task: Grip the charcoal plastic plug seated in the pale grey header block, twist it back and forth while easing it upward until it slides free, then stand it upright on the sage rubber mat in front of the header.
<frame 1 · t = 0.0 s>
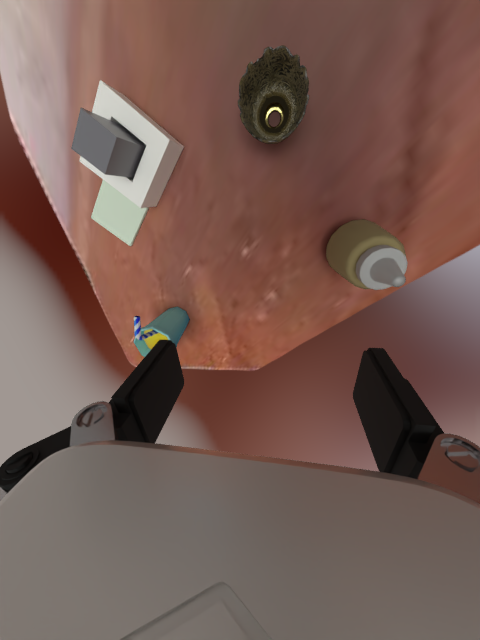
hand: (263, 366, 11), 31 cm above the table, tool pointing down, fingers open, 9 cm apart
cup: (178, 313, 48), on the table
squeeze bottle: (347, 244, 37), on the table
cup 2: (274, 119, 31), on the table
mat: (120, 212, 40), on the table
plug: (120, 150, 30), in the header
header: (141, 156, 35), on the table
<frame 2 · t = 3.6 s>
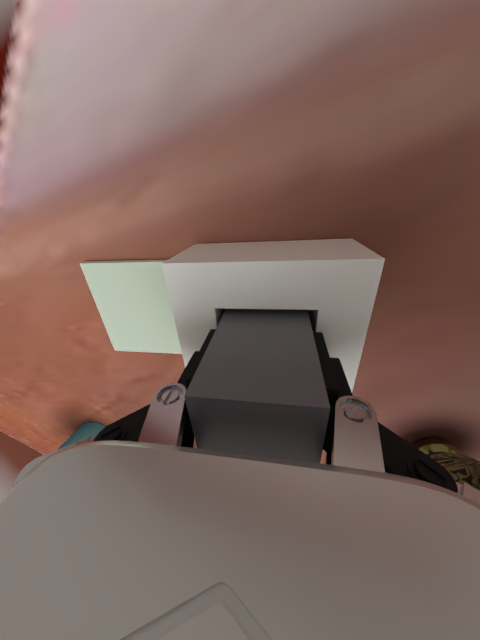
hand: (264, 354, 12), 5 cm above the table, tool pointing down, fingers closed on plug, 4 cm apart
cup: (105, 431, 29), on the table
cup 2: (428, 444, 21), on the table
mat: (146, 308, 19), on the table
plug: (264, 356, 12), in the header, touching gripper
header: (268, 310, 17), on the table
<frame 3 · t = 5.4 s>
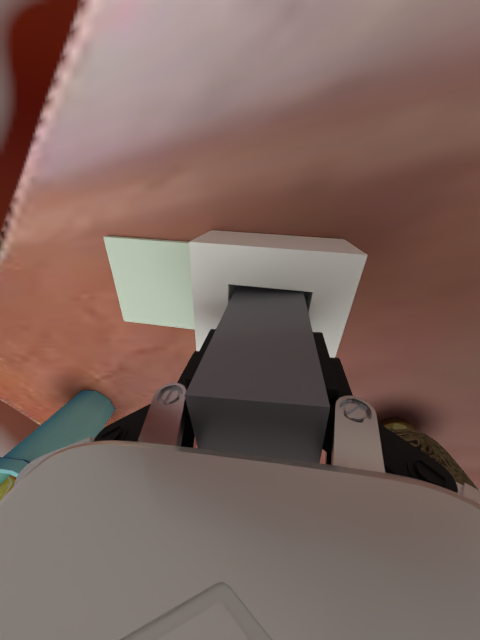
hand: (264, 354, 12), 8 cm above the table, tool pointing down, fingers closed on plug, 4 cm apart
cup: (101, 400, 31), on the table
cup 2: (391, 424, 25), on the table
mat: (159, 284, 21), on the table
plug: (264, 356, 12), point 8 cm above the table, touching gripper
header: (268, 295, 19), on the table
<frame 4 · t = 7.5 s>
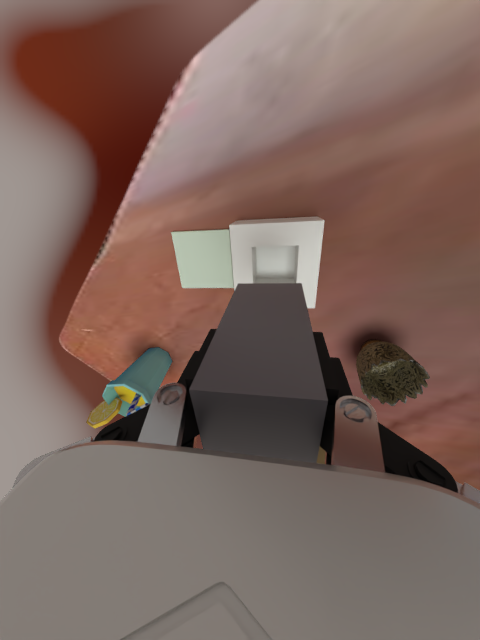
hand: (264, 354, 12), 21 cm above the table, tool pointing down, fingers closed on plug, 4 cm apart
cup: (162, 355, 43), on the table
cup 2: (371, 346, 35), on the table
mat: (204, 260, 32), on the table
plug: (264, 352, 12), point 21 cm above the table, touching gripper
header: (275, 258, 31), on the table
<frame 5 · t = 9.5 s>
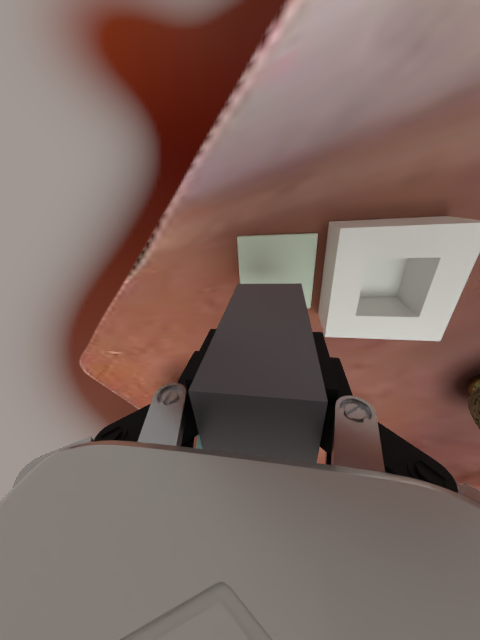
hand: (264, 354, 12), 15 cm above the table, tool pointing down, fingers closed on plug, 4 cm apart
mat: (275, 272, 25), on the table
plug: (264, 353, 12), point 15 cm above the table, touching gripper
header: (373, 271, 23), on the table
when the fingers open (7 cm above the table, at t = 11.3 s): plug stays where it is, resting on mat.
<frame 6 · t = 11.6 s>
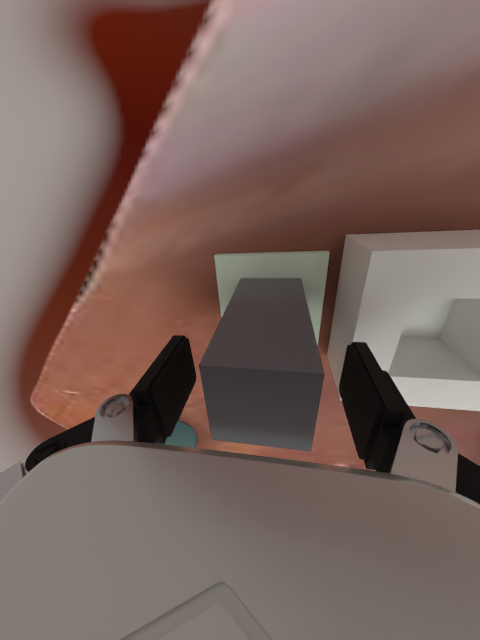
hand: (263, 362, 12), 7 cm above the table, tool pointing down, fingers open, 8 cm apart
cup: (182, 429, 29), on the table
mat: (269, 302, 18), on the table
plug: (266, 341, 13), on the mat, point 6 cm above the table
header: (407, 304, 16), on the table
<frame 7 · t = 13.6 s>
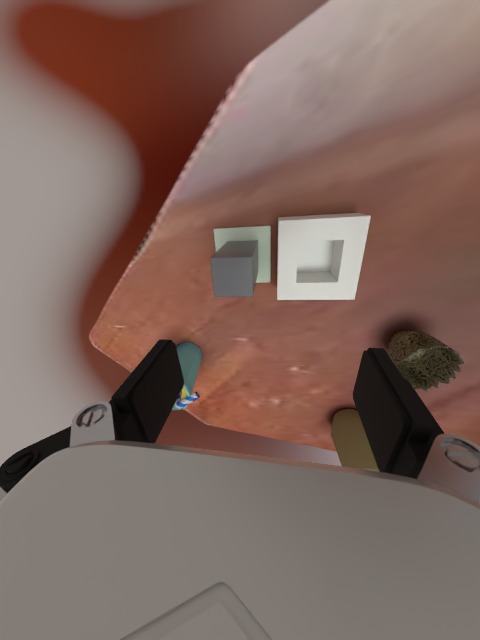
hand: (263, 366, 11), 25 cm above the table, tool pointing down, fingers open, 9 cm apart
cup: (193, 350, 44), on the table
squeeze bottle: (347, 416, 47), on the table
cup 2: (399, 337, 37), on the table
mat: (243, 255, 34), on the table
plug: (238, 265, 29), on the mat, point 6 cm above the table
header: (312, 253, 32), on the table
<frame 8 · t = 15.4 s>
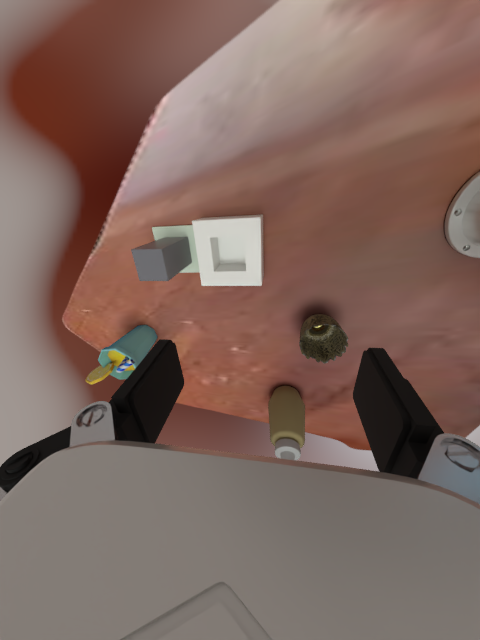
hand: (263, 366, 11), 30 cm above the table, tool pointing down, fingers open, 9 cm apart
cup: (149, 332, 51), on the table
squeeze bottle: (285, 393, 53), on the table
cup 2: (316, 320, 43), on the table
mat: (179, 249, 40), on the table
plug: (165, 256, 35), on the mat, point 6 cm above the table
header: (234, 248, 39), on the table
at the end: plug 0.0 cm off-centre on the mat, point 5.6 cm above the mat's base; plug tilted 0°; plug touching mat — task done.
